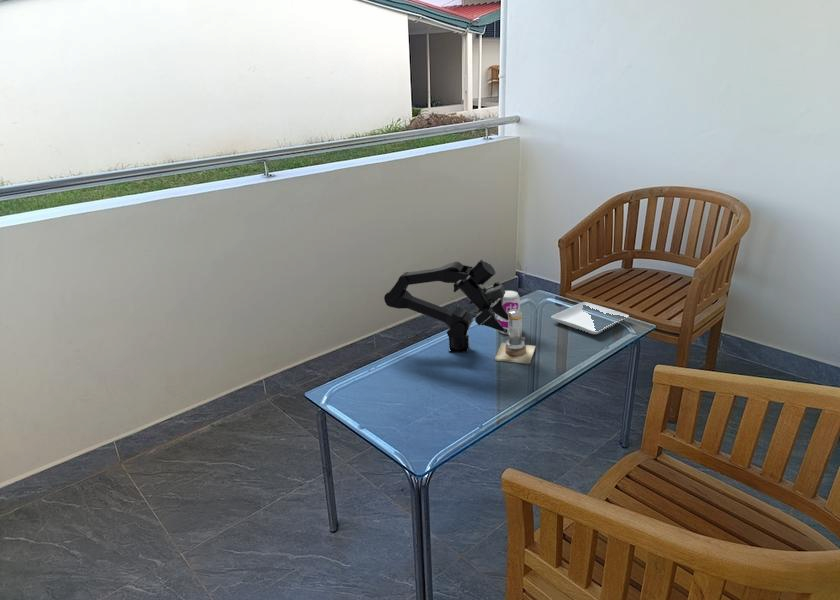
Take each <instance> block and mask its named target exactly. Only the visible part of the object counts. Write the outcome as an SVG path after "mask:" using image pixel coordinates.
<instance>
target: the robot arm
mask: <svg viewBox="0 0 840 600" xmlns="http://www.w3.org/2000/svg"><path fill="white" fill-rule="evenodd" d="M495 275H496V270H495V268H494V267H493V265H492V264H490V263H488V262H486V261H483V259H480V260H479V261H478V262H477V264H475V265H474V266H469V265H464V264H462V263H461V262H460V261H453V262H450V263H447V264H445V265H442V266H440V267H438V268H431V269H423V270H416V271H405V272H403V273H402V274H401V275H400V276H399V278H398V279H397V280H396V283H395V284H394V285H393V286H392V287H391V289H389V290H388V291H387V293H385V295H384V297H383V299H384V303H385V305H386V306H388V307H389V308H393V309H399V310H400V309H401V310H402V309H407V310H410V311H413V312H415V313H419V314H421V315H424V316H427V317H429V318H432V319H434V320H437V321H440V322H442V323H444V324H445V325H446V326H447V327H448V329H447V330H446V335H447V337H448V342H449V343H448V346H449V347H448V349H449V348H450V350H451V351H453V352H452V353H468V350H469V348H470V335H468V330H469V329H470V327H471V325H472V324H473V322H474V319H475V323H476V324H477V325H478V326H485V327H489V328H492V329H494V330H497V331H498V332H500V331H504V328H503V326H502V325H501V324H500V323H499V321H498V318H497V317H496V316H498V315H499V316H500V317H502V318H504V319H505V320H508V314H507V312H506V311H505V309H504V307H503V304H502V301H503V297H504V294H505V291H506V290H505V285H503V284H502V283H500V282H499V281H495V282H494V283H493V284H492V287H491V288H490V289H489V288H486V287H484V286H483V285H485V284H486V283H487V282H488V281H489V280H490V279H492V278H493V277H494V276H495ZM433 282H441V283H445V284H453V292H454V293H457V292H458V291H461V292H462V293H463V294H464V296H465V297H467V299H468V300H469V304H470V305H472V304H473V305H474V306H475V307H476V308H478V310H477V312H478V313H477V314H476V316H475V317H474V318H473V316H472V313H471V312H469V311H468V309H463V308H461V307H460V306H455V307H454V309H448V308H445V307H443V306H439V305H437V304H435V303H432V302H429V301H426V300H424V299H421V298H418V297H416V296H413V295H412V294H411V293H410V292H409V291H408V290H407V289H408V287H409V286H410V285H417V284H425V283H426V284H427V283H433ZM481 285H482V286H483V287H482V286H481ZM500 298H501V299H500Z"/></svg>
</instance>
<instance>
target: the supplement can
mask: <svg viewBox="0 0 840 600" xmlns="http://www.w3.org/2000/svg"><path fill="white" fill-rule="evenodd" d="M500 299H501V298H500ZM502 304H503V307H504V309H505V311H506V312H507V314H508V311H509V310H512V309H518V310H521V298H520V295H519V293H518V292H517V291H515V290H509V289H508V290H505V294H504V297H503V301H502ZM497 320H498V321H499V323H500V324H501V325H502V326H503V328H504V331H499V333H501V334H503V335H506V336H509V327H508V320H505V319H504V318H502V317H500V316H499V315H497Z"/></svg>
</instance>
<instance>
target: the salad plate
mask: <svg viewBox="0 0 840 600" xmlns="http://www.w3.org/2000/svg"><path fill="white" fill-rule="evenodd" d="M583 305H586V306H589V307H590V308H591V309H592V308H593V309H595V310H596V309H597V310H599V311H600V312H603V313H604V314H606V313H609V314H611V315H612V314H613V315H620V316H624V317H626V318H627V319H629V317H630V315H629V314H627V313H624V312H621V311H618V310H613V309H610V308H608V307H604V306H601V305H598V304H594V303H591V302H587V301H582V302H579V303H577V304H575V305H573V306H571V307H568V308H565V309H564V310H562V311H560V312H557V313H555V314H552V315H551V319H552V321H553V320H554V321H555V322H557V323H560V324H561V325H565V326H567V327H569V328H573V329H576V330H578V329H579V330H578V331H581V330H582V331H581V332H584V331H585V332H584V333H587V332H588V334H591V335H598V334H600V333H602V332H604V331H605V329H606V330H608V329H610V328H612V327H614V326H615V325H614V324H616V323H618V322H620V321H621V320H623V319H621V320H619V321H616V322H614V323H612V324H610V325H608V326H606V327H604V328H603V329H601V330H599V331H595V330H596V329H595V328H594V327H595V326H594V323H593V321H594V320H592V319H591V315H589V314H588V313H586V312H583V311H582V308H583ZM624 319H625V318H624ZM620 323H621V322H620ZM618 324H619V323H618ZM613 325H614V326H613ZM616 325H617V324H616ZM611 326H612V327H611ZM609 327H610V328H609ZM607 328H608V329H607ZM603 330H604V331H603Z"/></svg>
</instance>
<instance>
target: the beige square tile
mask: <svg viewBox="0 0 840 600" xmlns="http://www.w3.org/2000/svg"><path fill="white" fill-rule="evenodd" d="M536 348H537V347H536V345H531V344H530V345H529V344H525V347H524V348H523V349H521V350H509V349H507V348H506V342H501V344H500V347H499V349H498V350H497V352H496V355H495V357H494V361H499V362H509V363H519V364H531V362H532V360H533V357H534V353H535V351H536Z"/></svg>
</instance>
